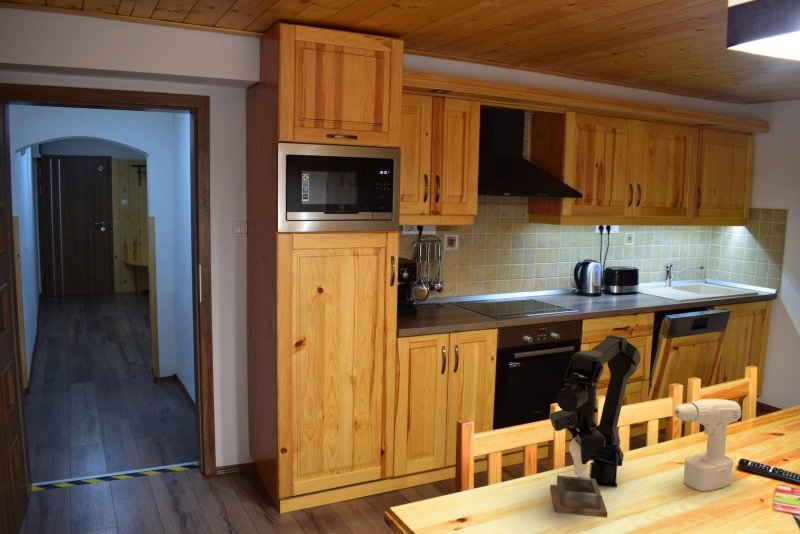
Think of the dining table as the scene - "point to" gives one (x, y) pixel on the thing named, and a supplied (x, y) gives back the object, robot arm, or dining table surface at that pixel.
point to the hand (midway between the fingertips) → (580, 458)
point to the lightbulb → (577, 458)
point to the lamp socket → (577, 496)
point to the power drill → (709, 442)
